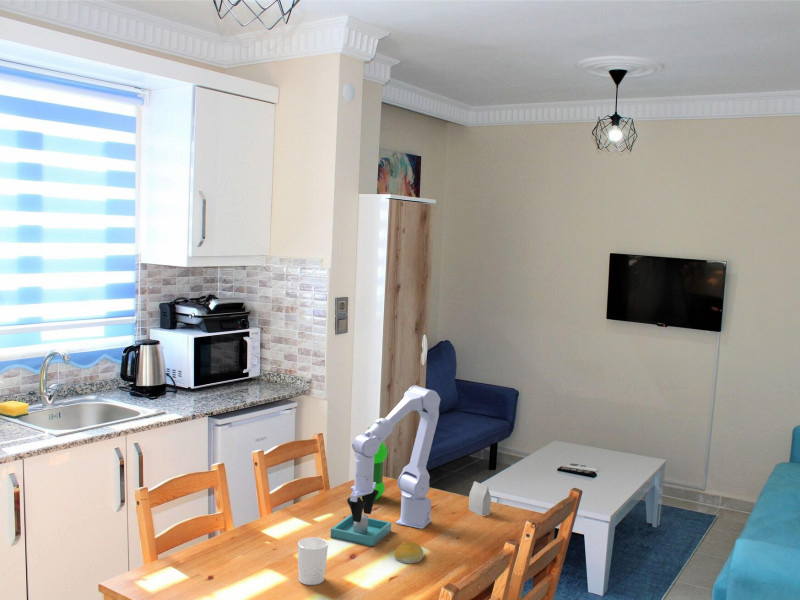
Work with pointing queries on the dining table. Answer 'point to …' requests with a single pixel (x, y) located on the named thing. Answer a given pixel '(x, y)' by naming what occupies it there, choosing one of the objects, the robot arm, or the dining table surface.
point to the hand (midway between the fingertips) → (362, 517)
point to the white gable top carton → (479, 499)
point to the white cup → (312, 560)
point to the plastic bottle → (379, 469)
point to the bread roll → (409, 552)
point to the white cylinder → (361, 525)
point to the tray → (375, 534)
